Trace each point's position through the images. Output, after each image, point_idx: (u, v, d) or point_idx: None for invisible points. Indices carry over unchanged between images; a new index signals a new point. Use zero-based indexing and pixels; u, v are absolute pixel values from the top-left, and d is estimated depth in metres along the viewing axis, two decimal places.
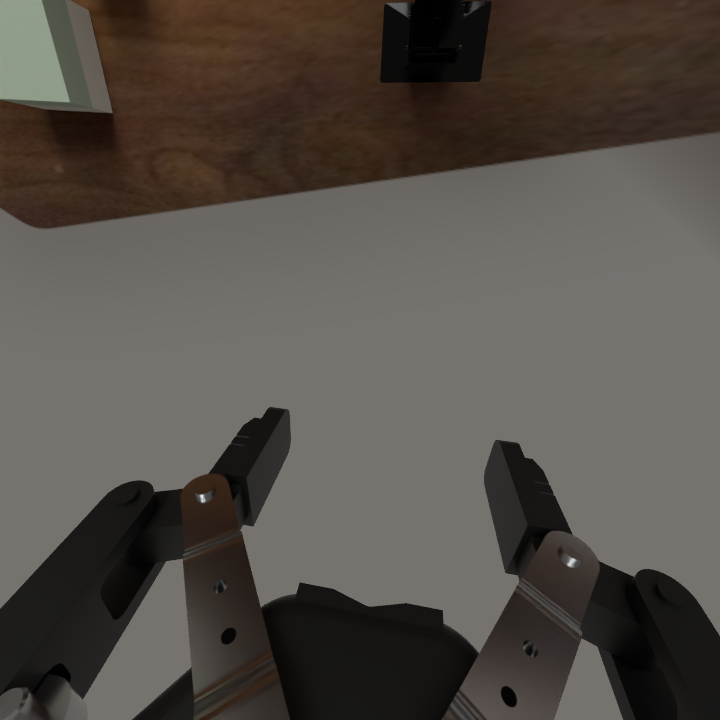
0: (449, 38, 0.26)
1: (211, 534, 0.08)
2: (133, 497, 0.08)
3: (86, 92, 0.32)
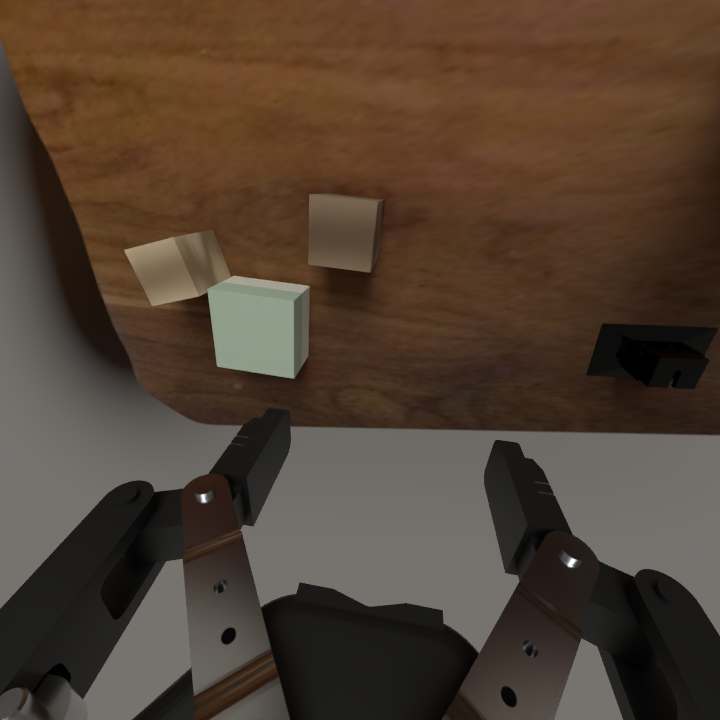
0: (688, 384, 0.28)
1: (211, 534, 0.08)
2: (133, 497, 0.08)
3: (300, 357, 0.34)
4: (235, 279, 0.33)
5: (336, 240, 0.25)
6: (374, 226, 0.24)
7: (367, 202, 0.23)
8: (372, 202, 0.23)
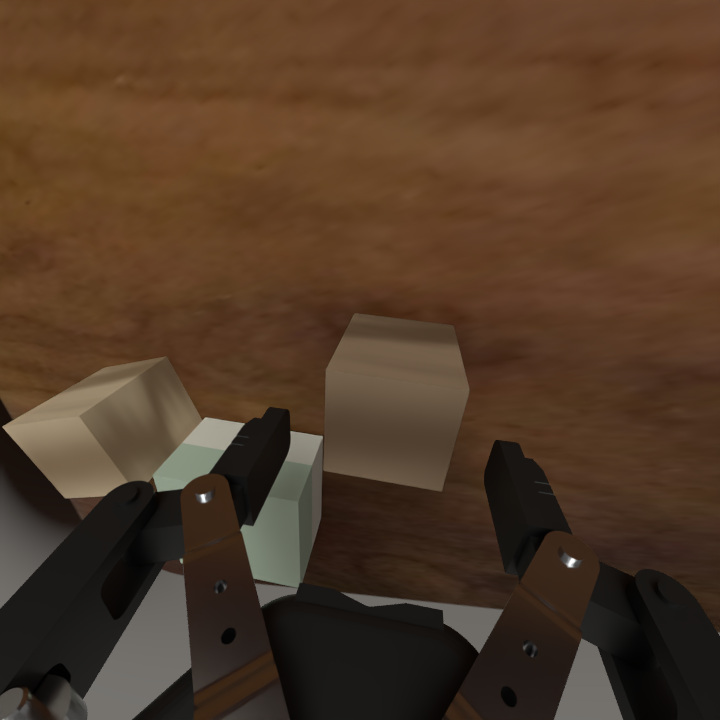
0: None
1: (211, 534, 0.08)
2: (133, 497, 0.08)
3: (310, 543, 0.22)
4: (206, 431, 0.21)
5: (378, 442, 0.13)
6: (457, 426, 0.12)
7: (447, 389, 0.11)
8: (457, 389, 0.11)
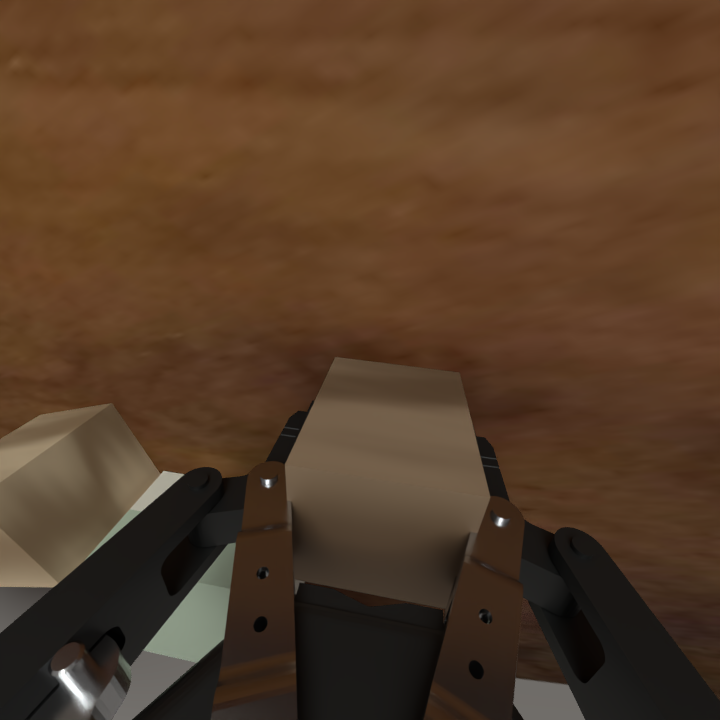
0: None
1: (266, 519, 0.08)
2: (203, 483, 0.09)
3: None
4: (161, 491, 0.17)
5: (362, 551, 0.09)
6: None
7: (457, 494, 0.08)
8: (473, 495, 0.08)
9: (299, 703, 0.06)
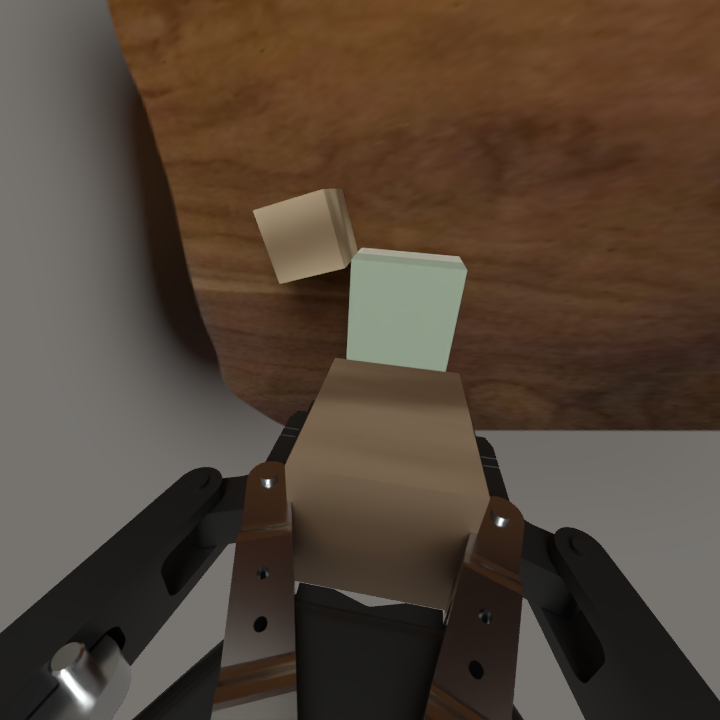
0: None
1: (266, 519, 0.08)
2: (203, 483, 0.09)
3: None
4: (369, 251, 0.26)
5: (362, 553, 0.09)
6: None
7: (457, 496, 0.08)
8: (472, 496, 0.08)
9: (299, 703, 0.06)
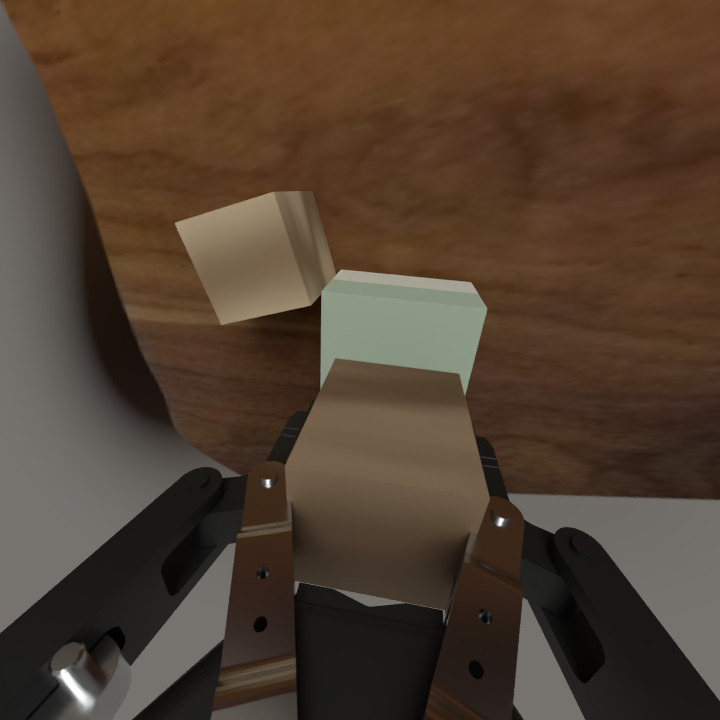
0: None
1: (266, 519, 0.08)
2: (203, 483, 0.09)
3: None
4: (350, 275, 0.19)
5: (362, 552, 0.09)
6: None
7: (457, 496, 0.08)
8: (472, 496, 0.08)
9: (299, 703, 0.06)
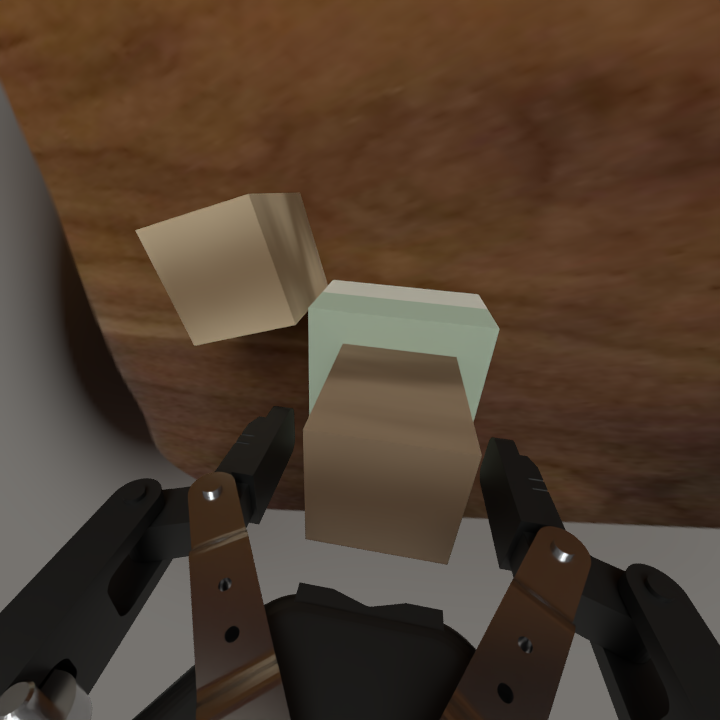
0: None
1: (217, 532, 0.08)
2: (141, 495, 0.09)
3: None
4: (342, 286, 0.17)
5: (369, 510, 0.11)
6: (466, 494, 0.10)
7: (453, 454, 0.09)
8: (466, 454, 0.09)
9: (284, 696, 0.06)
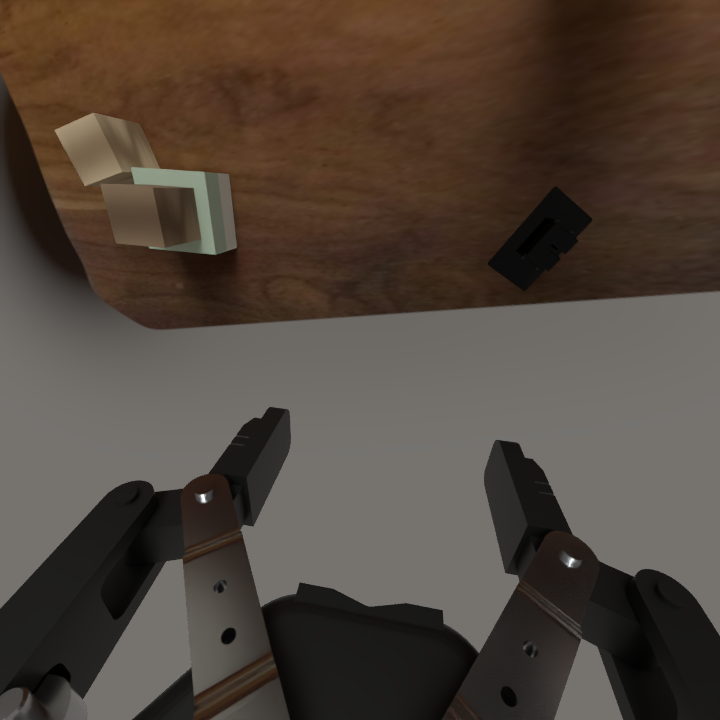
0: (568, 243, 0.32)
1: (211, 534, 0.08)
2: (133, 497, 0.08)
3: (224, 240, 0.38)
4: None
5: (131, 221, 0.30)
6: (156, 208, 0.29)
7: (145, 188, 0.29)
8: (149, 188, 0.28)
9: None
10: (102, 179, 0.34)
